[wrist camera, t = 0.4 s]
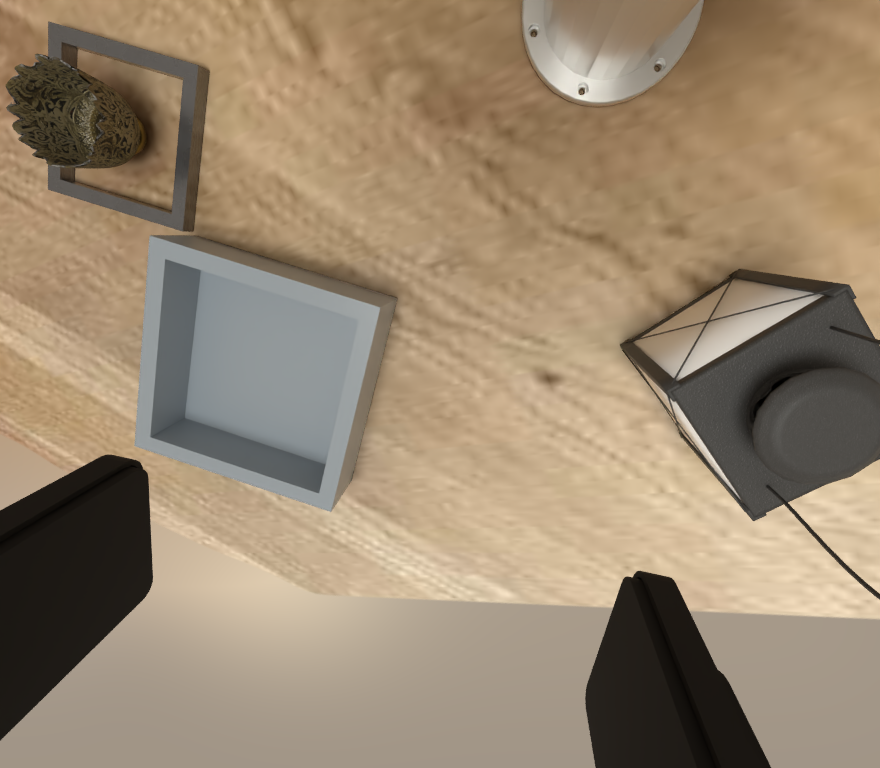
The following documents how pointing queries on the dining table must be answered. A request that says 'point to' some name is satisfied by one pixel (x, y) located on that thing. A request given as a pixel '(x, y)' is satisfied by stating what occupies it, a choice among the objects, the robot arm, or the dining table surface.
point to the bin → (257, 367)
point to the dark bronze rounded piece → (72, 116)
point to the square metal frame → (189, 138)
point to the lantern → (769, 386)
